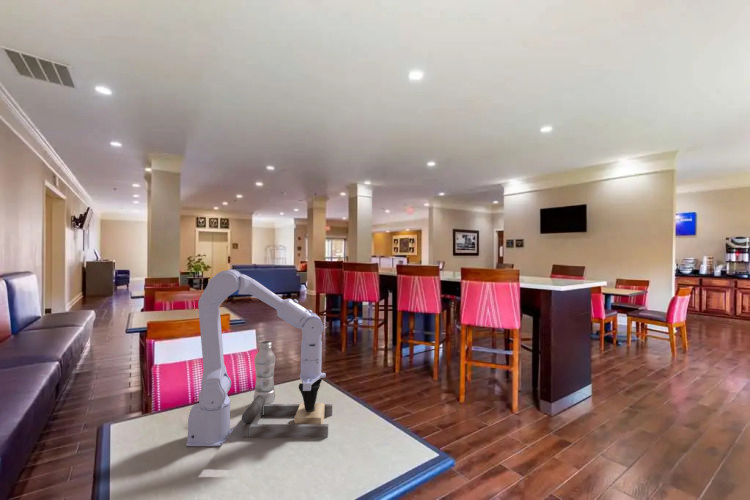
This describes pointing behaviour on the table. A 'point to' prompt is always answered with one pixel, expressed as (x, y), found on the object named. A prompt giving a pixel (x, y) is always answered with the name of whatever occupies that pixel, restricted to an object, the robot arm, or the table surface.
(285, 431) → the bay
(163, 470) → the table surface
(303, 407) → the tan wooden block
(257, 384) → the plastic bottle
